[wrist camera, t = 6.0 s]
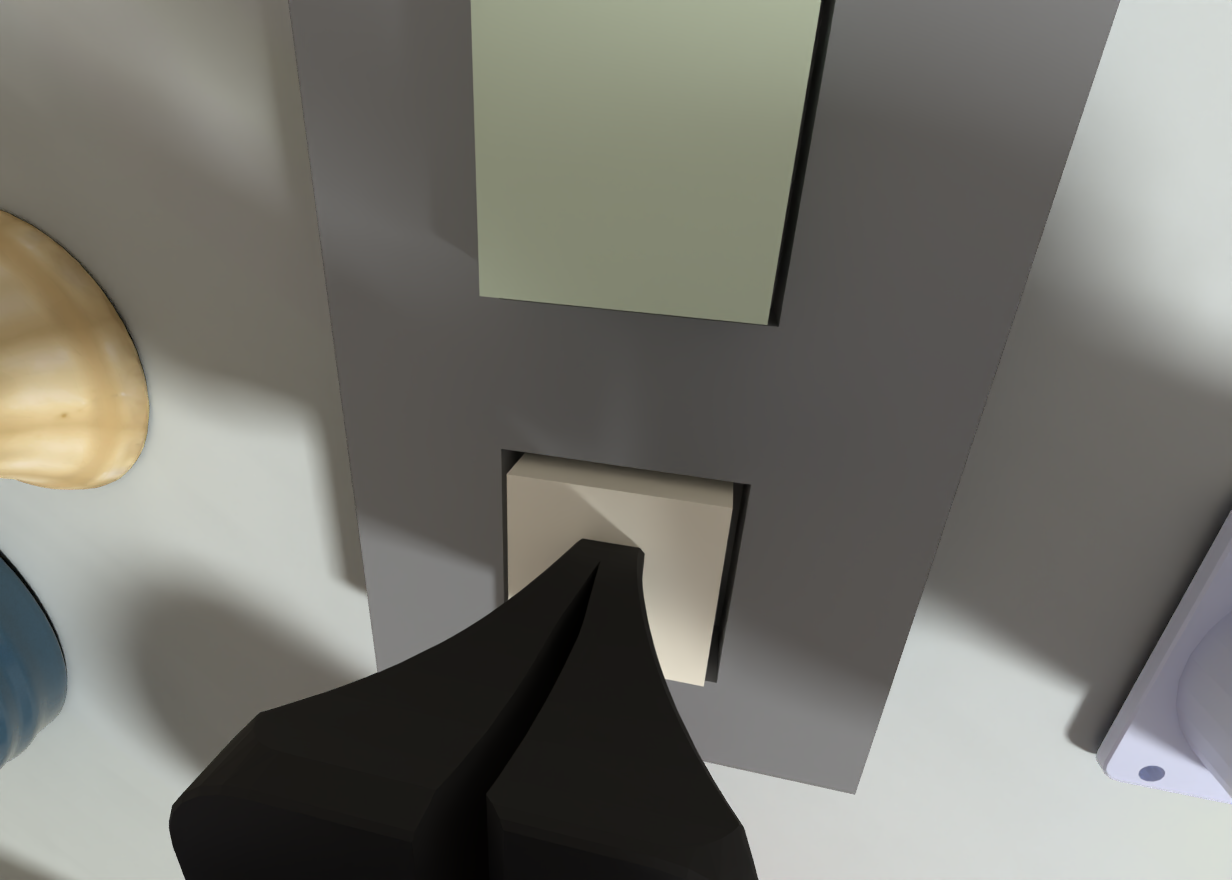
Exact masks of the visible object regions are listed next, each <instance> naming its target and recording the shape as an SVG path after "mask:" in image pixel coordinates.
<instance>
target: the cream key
mask: <svg viewBox="0 0 1232 880" xmlns="http://www.w3.org/2000/svg"><path fill="white" fill-rule="evenodd" d="M732 510H733V482H729V481H722V480H715V479H708V478H701V477H694V476H687V475H680V474H673V473H666V472H660V471H653V470H646V469H639V468H632V467H625V466H618V465H611V464H604V463H597V462H590V461H583V460H576V459H569V458H562V457H555V456H548V455H541V454H534V453H527V452H525V453H524V455H523V456H522V457H521V458H520V459H519V460H518V462H517V463H516V464H515V465H514V466H513V467H512V469H511V470H510V471H509V472H508V473H507V535H508V599H510V598H511V597H513V596H514V595H515V594H517V593H518V592H519V591H521V590H522V589H523V588H524V587H526V586H527V585H528V584H529V583H530V582H532V581H533V580H534V579H535V578H537V577H538V576H539V575H540V574H541V573H543V572H544V571H545V570H546V569H547V568H548V567H550V566H551V565H552V564H553V563H554V562H555V561H557V560H558V559H559V558H560V557H561V556H562V555H563V554H564V553H565V552H566V551H568V550H569V549H570V548H571V547H572V546H573V545H574V544H575V543H576V542H578V541H579V540H581V539H582V538H583V539H589V540H595V541H601V542H607V543H613V544H619V545H626V546H632V547H638V548H641V550H642V551H643V552H644V553H645V558H644V568H643V578H642V582H643V593H644V600H645V606H646V612H647V618H648V622H649V627H650V631H651V635H652V639H653V643H654V646H655V650H656V653H657V657H658V660H659V663H660V666H661V669H662V672H663V675H664V677H665V679H668V680H673V681H678V682H683V683H688V684H693V685H698V686H703V687H704V681H705V675H706V669H707V663H708V657H709V651H710V645H711V638H712V632H713V626H714V620H715V614H716V608H717V602H718V595H719V589H720V583H721V577H722V571H723V565H724V559H725V553H726V546H727V540H728V534H729V528H730V522H731V516H732Z"/></svg>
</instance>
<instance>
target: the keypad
mask: <svg viewBox="0 0 1232 880" xmlns="http://www.w3.org/2000/svg"><path fill="white" fill-rule="evenodd" d="M288 1H289V9H290V16H291V24H292V31H293V39H294V46H295V54H296V61H297V69H298V76H299V84H300V91H301V99H302V106H303V114H304V122H305V129H306V137H307V144H308V152H309V159H310V167H311V174H312V182H313V189H314V197H315V204H316V212H317V220H318V227H319V235H320V242H321V250H322V257H323V265H324V272H325V280H326V287H327V295H328V302H329V310H330V317H331V325H332V333H333V340H334V348H335V355H336V363H337V370H338V378H339V385H340V393H341V400H342V408H343V415H344V423H345V430H346V438H347V446H348V453H349V461H350V468H351V476H352V483H353V491H354V498H355V506H356V513H357V521H358V528H359V536H360V544H361V551H362V559H363V566H364V574H365V581H366V589H367V596H368V604H369V611H370V619H371V626H372V634H373V641H374V649H375V657H376V664H377V672H380V671H382V670H385V669H387V668H389V667H392V666H394V665H396V664H399V663H401V662H403V661H405V660H407V659H409V658H411V657H413V656H415V655H417V654H419V653H421V652H423V651H425V650H427V649H429V648H431V647H433V646H435V645H437V644H439V643H441V642H443V641H445V640H447V639H449V638H450V637H452V636H454V635H456V634H457V633H459V632H461V631H462V630H464V629H466V628H468V627H469V626H471V625H472V624H474V623H475V622H477V621H479V620H480V619H482V618H483V617H485V616H486V615H488V614H489V613H491V612H492V611H493V610H495V609H496V608H497V607H499V606H500V605H502V604H503V603H504V602H506V601H507V600H508V535H507V473H508V472H509V471H510V470H511V469H512V467H513V466H514V465H515V464H516V463H517V462H518V460H519V459H520V458H521V457H522V456H523V455H524V453H525V452H527V453H534V454H541V455H548V456H555V457H562V458H569V459H576V460H583V461H590V462H597V463H604V464H611V465H618V466H625V467H632V468H639V469H646V470H653V471H660V472H666V473H673V474H680V475H687V476H694V477H701V478H708V479H715V480H722V481H729V482H733V510H732V516H731V522H730V528H729V534H728V540H727V546H726V553H725V559H724V565H723V571H722V577H721V583H720V589H719V595H718V602H717V608H716V614H715V620H714V626H713V632H712V638H711V645H710V651H709V657H708V663H707V669H706V675H705V681H704V687H703V686H698V685H693V684H688V683H683V682H678V681H673V680H668V679H665V680H666V683H667V686H668V688H669V691H670V693H671V696H672V698H673V701H674V703H675V705H676V708H677V710H678V712H679V714H680V716H681V719H682V721H683V723H684V725H685V727H686V729H687V731H688V733H689V735H690V737H691V739H692V741H693V743H694V745H695V747H696V749H697V751H698V753H699V755H700V757H701V759H702V760H703V761H705V762H709V763H714V764H719V765H723V766H728V767H732V768H737V769H741V770H746V771H750V772H755V773H759V774H764V775H768V776H773V777H778V778H782V779H787V780H791V781H796V782H800V783H805V784H809V785H814V786H818V787H823V788H827V789H832V790H837V791H841V792H846V793H850V794H855V793H856V790H857V787H858V784H859V781H860V778H861V775H862V772H863V769H864V766H865V763H866V760H867V757H868V754H869V751H870V748H871V745H872V742H873V739H874V736H875V733H876V730H877V727H878V724H879V721H880V718H881V715H882V712H883V709H884V706H885V703H886V700H887V697H888V694H889V691H890V688H891V685H892V682H893V679H894V676H895V673H896V670H897V667H898V664H899V661H900V658H901V655H902V652H903V649H904V646H905V643H906V640H907V637H908V634H909V631H910V628H911V625H912V622H913V619H914V616H915V613H916V610H917V607H918V604H919V601H920V598H921V595H922V592H923V589H924V586H925V583H926V580H927V577H928V574H929V571H930V568H931V565H932V562H933V559H934V556H935V553H936V550H937V547H938V544H939V541H940V538H941V535H942V532H943V529H944V526H945V523H946V520H947V517H948V514H949V511H950V508H951V505H952V502H953V499H954V496H955V493H956V490H957V488H958V485H959V482H960V479H961V476H962V473H963V470H964V467H965V464H966V461H967V458H968V455H969V452H970V449H971V446H972V443H973V440H974V437H975V434H976V431H977V428H978V425H979V422H980V419H981V416H982V413H983V410H984V407H985V404H986V401H987V398H988V395H989V392H990V389H991V386H992V383H993V380H994V377H995V374H996V371H997V368H998V365H999V362H1000V359H1001V356H1002V353H1003V350H1004V347H1005V344H1006V341H1007V338H1008V335H1009V332H1010V329H1011V326H1012V323H1013V320H1014V317H1015V314H1016V311H1017V308H1018V305H1019V302H1020V299H1021V296H1022V293H1023V290H1024V287H1025V284H1026V281H1027V278H1028V275H1029V272H1030V269H1031V266H1032V263H1033V260H1034V257H1035V254H1036V251H1037V248H1038V245H1039V242H1040V239H1041V236H1042V233H1043V230H1044V227H1045V224H1046V221H1047V218H1048V215H1049V212H1050V209H1051V206H1052V203H1053V200H1054V197H1055V194H1056V191H1057V188H1058V185H1059V182H1060V179H1061V176H1062V173H1063V170H1064V167H1065V164H1066V161H1067V158H1068V155H1069V152H1070V149H1071V146H1072V143H1073V140H1074V137H1075V134H1076V131H1077V128H1078V125H1079V122H1080V119H1081V116H1082V113H1083V110H1084V107H1085V104H1086V101H1087V98H1088V95H1089V92H1090V89H1091V86H1092V83H1093V80H1094V77H1095V74H1096V71H1097V68H1098V65H1099V62H1100V59H1101V56H1102V53H1103V50H1104V47H1105V44H1106V41H1107V38H1108V35H1109V32H1110V29H1111V26H1112V23H1113V20H1114V17H1115V14H1116V11H1117V8H1118V5H1119V2H1120V0H821V5H820V11H819V17H818V23H817V29H816V35H815V41H814V47H813V53H812V59H811V65H810V71H809V77H808V83H807V89H806V95H805V101H804V107H803V113H802V119H801V125H800V131H799V137H798V143H797V149H796V155H795V161H794V167H793V173H792V179H791V185H790V191H789V197H788V203H787V209H786V215H785V221H784V227H783V233H782V239H781V245H780V251H779V257H778V263H777V269H776V275H775V282H774V288H773V294H772V300H771V306H770V312H769V318H768V324H767V325H762V324H752V323H742V322H732V321H722V320H713V319H703V318H693V317H683V316H673V315H663V314H653V313H643V312H633V311H623V310H613V309H603V308H593V307H583V306H573V305H563V304H553V303H543V302H533V301H523V300H514V299H504V298H494V297H484V296H480V292H479V259H478V226H477V193H476V160H475V128H474V95H473V62H472V29H471V0H288Z"/></svg>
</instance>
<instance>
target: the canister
mask: <svg viewBox="0 0 1232 880" xmlns="http://www.w3.org/2000/svg"><path fill="white" fill-rule="evenodd" d="M66 691H67V674H66V667H65V662H64V658H63V655H62V651H61V648H60V646H59V643H58V640H57V638H56V636H55V633H54V631H53V629H52V627H51V625H50V623H49V621H48V619H47V618H46V616H45V614H44V613H43V611H42V609H41V608H40V606H39V605H38V603H37V602H36V600H35V598H34V597H33V596H32V594H31V593H30V591H29V590H28V589H27V587H26V586H25V585H24V584H23V582H22V581H21V580H20V579H19V577H18V576H17V575H16V574H15V573H14V571H13V570H12V569H11V568H10V567H9V566H8V565H7V564H6V563H5V561H4V560H3V559H2V558H1V557H0V769H1V768H2V767H3V766H4V765H5V763H6V762H8V761H10V760H12V759H14V758H15V757H17V756H19V755H20V754H21V753H22V752H23V751H24V750H25V749H26V748H27V747H28V746H29V745H30V744H31V742H32V741H33V740H34V738H35V737H36V735H37V734H38V733H39V732H40V731H41V730H42V729H44V728H45V727H46V726H47V725H48V724H49V723H50V722H52V721H53V720H54V719H55V718H56V717H57V715H58V714H59V713H60V711H61V709H62V707H63V705H64V702H65V698H66Z"/></svg>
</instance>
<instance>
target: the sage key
mask: <svg viewBox="0 0 1232 880" xmlns="http://www.w3.org/2000/svg"><path fill="white" fill-rule="evenodd" d="M820 5H821V0H471V29H472V62H473V95H474V128H475V160H476V193H477V226H478V259H479V292H480V296H484V297H494V298H504V299H514V300H523V301H533V302H543V303H553V304H563V305H573V306H583V307H593V308H603V309H613V310H623V311H633V312H643V313H653V314H663V315H673V316H683V317H693V318H703V319H713V320H722V321H732V322H742V323H752V324H762V325H767V324H768V318H769V312H770V306H771V300H772V294H773V288H774V282H775V275H776V269H777V263H778V257H779V251H780V245H781V239H782V233H783V227H784V221H785V215H786V209H787V203H788V197H789V191H790V185H791V179H792V173H793V167H794V161H795V155H796V149H797V143H798V137H799V131H800V125H801V119H802V113H803V107H804V101H805V95H806V89H807V83H808V77H809V71H810V65H811V59H812V53H813V47H814V41H815V35H816V29H817V23H818V17H819V11H820Z"/></svg>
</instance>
